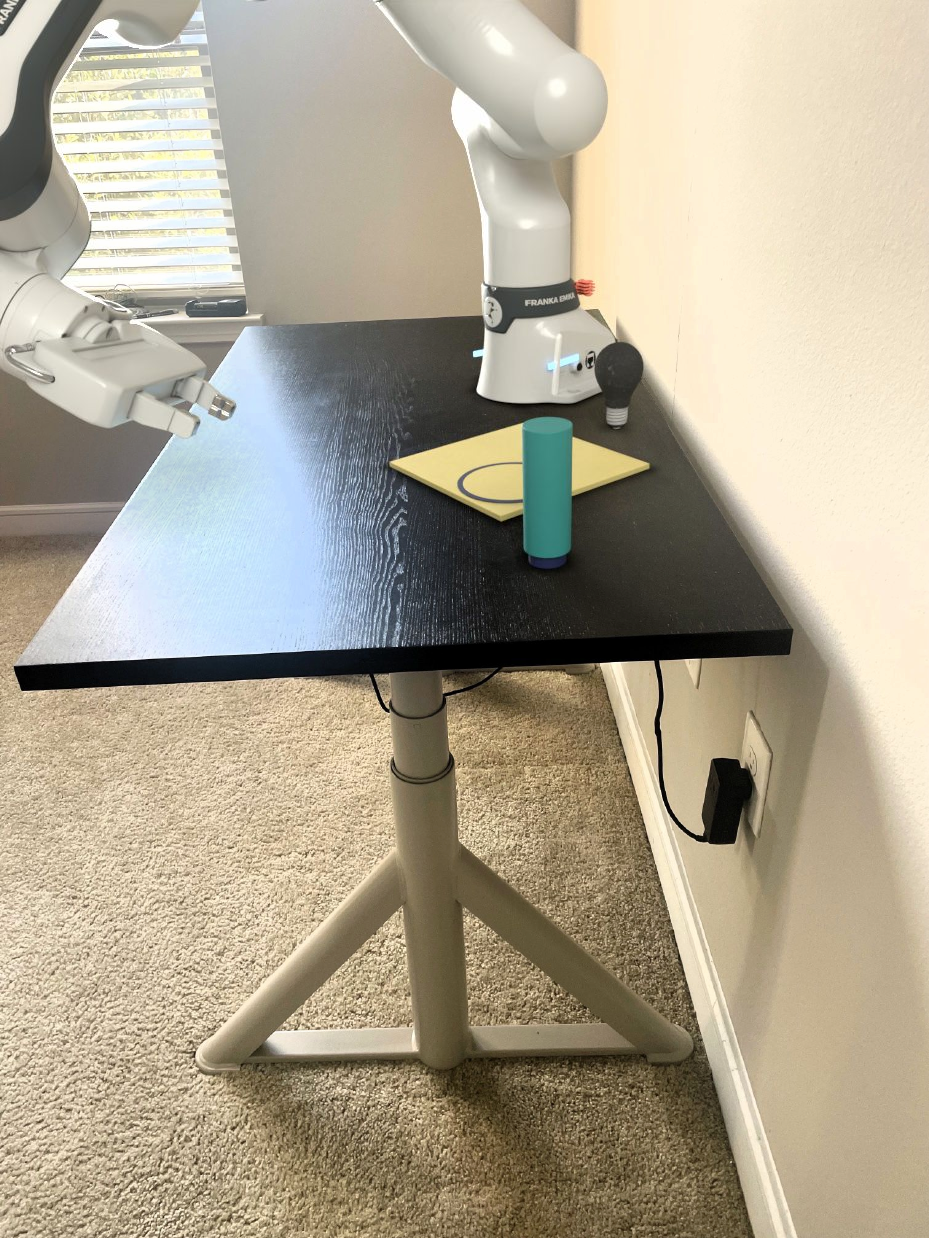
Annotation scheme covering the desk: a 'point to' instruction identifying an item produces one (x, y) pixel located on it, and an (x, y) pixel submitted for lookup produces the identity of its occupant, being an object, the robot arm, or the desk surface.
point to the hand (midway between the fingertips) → (214, 421)
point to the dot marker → (547, 490)
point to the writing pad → (506, 470)
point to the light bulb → (618, 379)
